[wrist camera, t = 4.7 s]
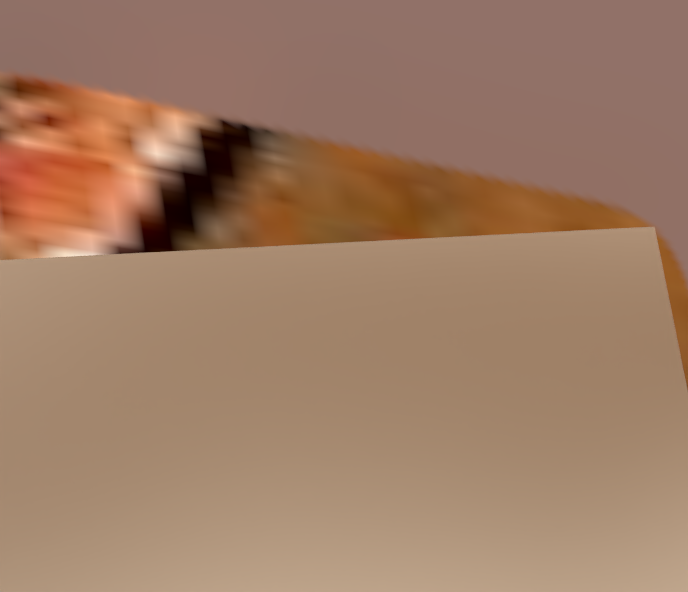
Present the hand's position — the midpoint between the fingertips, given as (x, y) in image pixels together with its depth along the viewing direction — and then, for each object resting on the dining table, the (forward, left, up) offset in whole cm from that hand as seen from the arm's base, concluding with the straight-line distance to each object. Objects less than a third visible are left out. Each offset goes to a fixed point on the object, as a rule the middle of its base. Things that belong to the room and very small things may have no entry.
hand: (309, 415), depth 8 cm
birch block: (-1, -1, -7) cm, 7 cm away
